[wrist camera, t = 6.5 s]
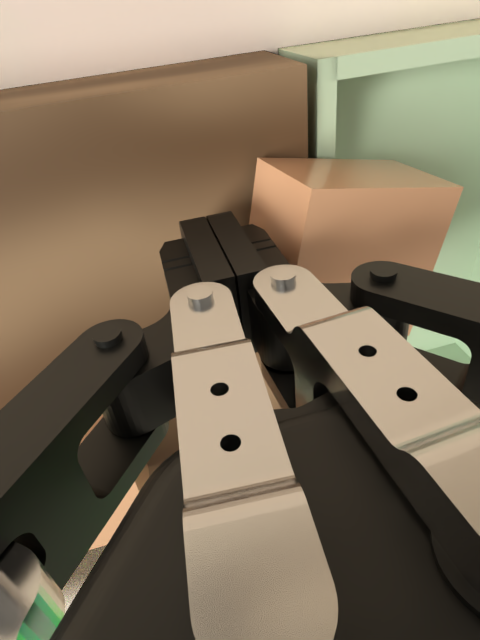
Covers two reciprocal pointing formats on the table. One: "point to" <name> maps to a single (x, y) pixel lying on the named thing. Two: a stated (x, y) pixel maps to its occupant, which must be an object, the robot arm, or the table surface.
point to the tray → (406, 124)
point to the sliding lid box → (126, 192)
